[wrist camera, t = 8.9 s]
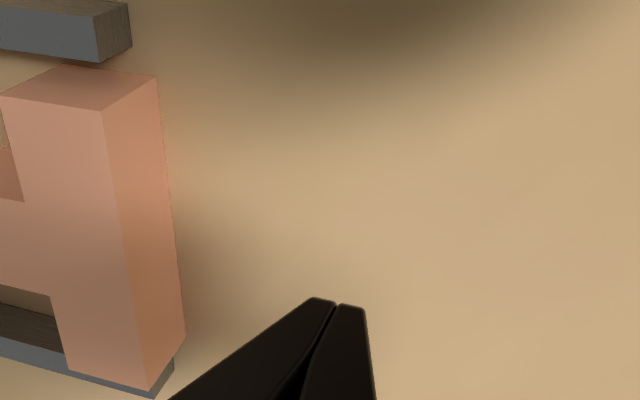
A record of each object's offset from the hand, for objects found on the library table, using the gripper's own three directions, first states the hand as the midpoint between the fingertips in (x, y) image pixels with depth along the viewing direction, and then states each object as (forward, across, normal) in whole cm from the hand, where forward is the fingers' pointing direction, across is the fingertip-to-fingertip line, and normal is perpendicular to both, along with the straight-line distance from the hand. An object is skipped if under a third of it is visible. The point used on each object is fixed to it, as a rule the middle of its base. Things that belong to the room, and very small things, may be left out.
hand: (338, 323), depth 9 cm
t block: (+12, +16, +8) cm, 22 cm away
